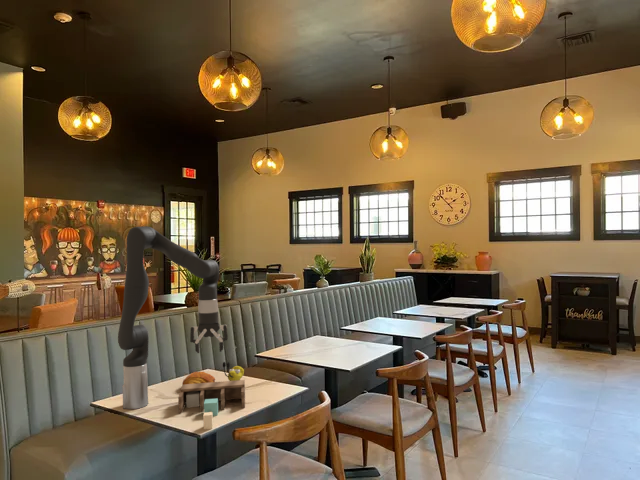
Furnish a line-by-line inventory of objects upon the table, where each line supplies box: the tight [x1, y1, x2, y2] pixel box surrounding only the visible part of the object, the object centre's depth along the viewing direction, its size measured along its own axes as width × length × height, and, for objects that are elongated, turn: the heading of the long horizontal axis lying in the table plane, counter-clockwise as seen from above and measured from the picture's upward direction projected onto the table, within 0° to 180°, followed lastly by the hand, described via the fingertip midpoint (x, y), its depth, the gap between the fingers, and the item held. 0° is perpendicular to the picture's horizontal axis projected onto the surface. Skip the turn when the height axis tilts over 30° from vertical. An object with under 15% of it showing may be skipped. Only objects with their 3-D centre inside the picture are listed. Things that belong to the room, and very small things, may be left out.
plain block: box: [186, 391, 200, 408], centre depth 194 cm, size 5×5×5 cm
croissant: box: [182, 371, 216, 385], centre depth 217 cm, size 14×16×8 cm
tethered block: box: [203, 398, 219, 430], centre depth 177 cm, size 5×18×5 cm, turn 9°
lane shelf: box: [177, 379, 246, 414], centre depth 193 cm, size 26×13×8 cm, turn 99°
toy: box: [222, 361, 245, 381], centre depth 211 cm, size 6×14×15 cm
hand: (209, 352), depth 184 cm, fingers open, 8 cm apart
